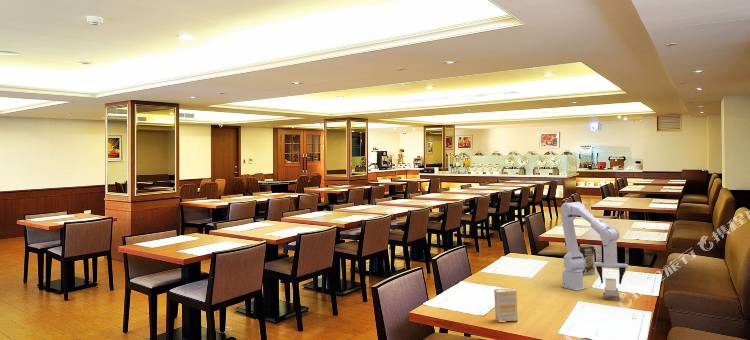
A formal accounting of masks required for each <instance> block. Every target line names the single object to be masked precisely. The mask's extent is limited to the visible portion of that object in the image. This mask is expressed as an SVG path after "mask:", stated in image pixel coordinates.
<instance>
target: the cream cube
mask: <svg viewBox="0 0 750 340" xmlns="http://www.w3.org/2000/svg"><path fill="white" fill-rule="evenodd" d="M604 280H605V287H606V290H613V291H616V288H617V279H616V278H609V277H605V279H604ZM605 287H604V288H605Z"/></svg>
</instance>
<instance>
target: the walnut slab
mask: <svg viewBox="0 0 750 340" xmlns="http://www.w3.org/2000/svg"><path fill="white" fill-rule="evenodd" d="M619 293H620V292H618V295H619V296H605V291H604V292H602V294H603V300H604V301H608V302H620V300H621V299H620V298H621V296H620V294H619Z"/></svg>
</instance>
